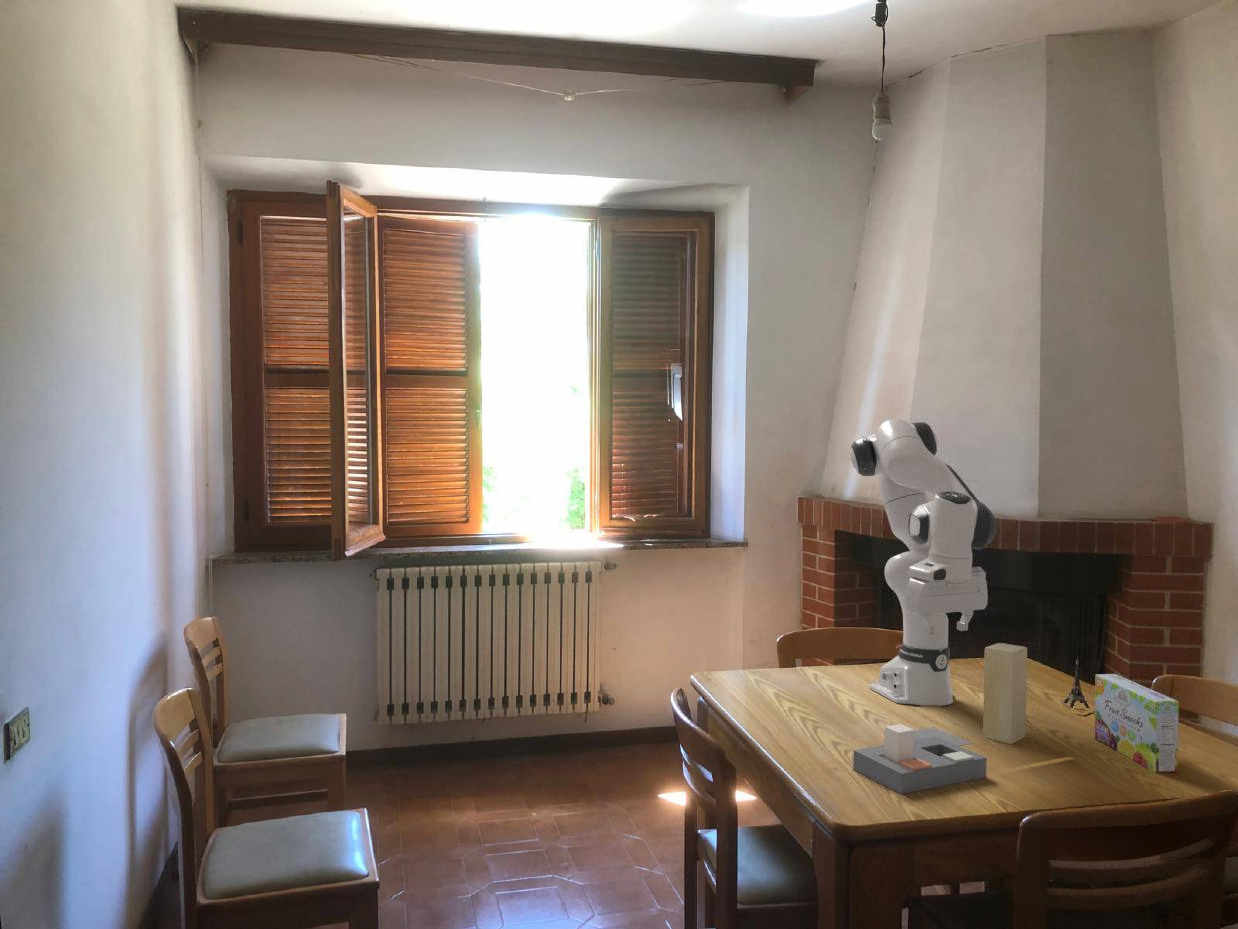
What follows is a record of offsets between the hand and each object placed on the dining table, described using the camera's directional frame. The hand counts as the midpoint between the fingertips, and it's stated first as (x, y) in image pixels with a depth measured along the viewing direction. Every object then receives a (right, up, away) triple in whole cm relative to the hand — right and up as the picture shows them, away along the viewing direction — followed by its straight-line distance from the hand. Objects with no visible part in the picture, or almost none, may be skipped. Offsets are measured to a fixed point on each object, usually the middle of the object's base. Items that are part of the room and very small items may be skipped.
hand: (945, 632), depth 196 cm
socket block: (-9, -27, -11) cm, 30 cm away
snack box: (+41, -27, +1) cm, 49 cm away
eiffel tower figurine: (+47, -27, +37) cm, 65 cm away
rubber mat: (0, -26, +9) cm, 28 cm away
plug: (-14, -27, -13) cm, 33 cm away
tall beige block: (+17, -27, +11) cm, 33 cm away
